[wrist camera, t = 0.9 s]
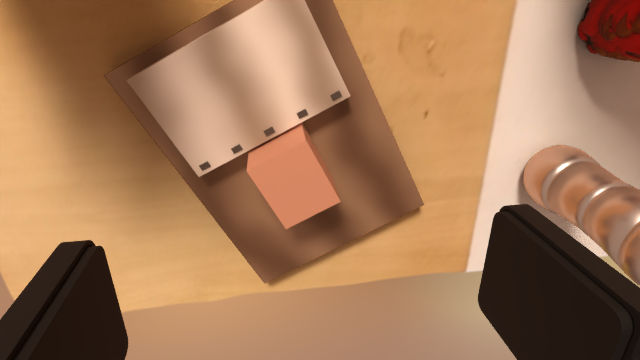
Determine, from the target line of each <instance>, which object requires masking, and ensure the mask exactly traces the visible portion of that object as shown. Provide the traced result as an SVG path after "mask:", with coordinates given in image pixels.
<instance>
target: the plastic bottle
mask: <svg viewBox="0 0 640 360" xmlns="http://www.w3.org/2000/svg"><path fill="white" fill-rule="evenodd" d="M523 182H524V187H525V189H526V191H527V193H528V194H529V195H530V196H531V198H532V199H533V200H534V202H536V203H537V204H538V205H540V206H542V207H543V208H545V209H547V210H549V211H551V212H553V213H555V214H558V215H559V216H561V217H562V218H564V219H566V220H567V221H569V222H570V223H572V224H573V225H575V226H576V227H578V228H580V229H581V230H582V231H583V232H584V233H585V234H587V235H588V236H589V237H590V238H591V239H592V240H593V241H594V242H596V243H597V244H598V245H599V246H600V247H601V248H602V249H603V250H604V251H605V252H606V253H607V254H608V255H609V256H610V257H611V259H613V261H614V262H615V263H616V264H617V265H618V266H619V267H620V268H621V269H622V270H623V271H624V273H625V274H627V275H628V276H629V277H630V278H631V279H632V280H633V281H634V282H635V283H637V284H638V285H640V190H639V189H637V188H635V187H633V186H631V185H629V184H627V183H625V182H623V181H622V180H620V179H619V178H617V177H616V176H615V175H613V174H612V173H610V172H609V171H607V170H606V169H604V168H603V167H602V166H601V165H600V164H599V163H597V162H596V161H595V160H594V159H593V158H592V157H591V156H589V155H588V154H587V153H585V152H584V151H582V150H580V149H577V148H573V147H570V146H566V145H556V146H551V147H548V148H545V149H543V150H541V151H539V152H538V153H536V154H535V155H534V156H533V157H532V158H531V159H530V160H529V162H528V163H527V165H526V167H525V170H524V178H523Z"/></svg>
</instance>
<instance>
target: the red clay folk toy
mask: <svg viewBox="0 0 640 360" xmlns="http://www.w3.org/2000/svg"><path fill="white" fill-rule="evenodd" d="M584 13H585V16H586V17H585V19H581V21H580V24H579V26H578V35H579V37H580V39H582V40H583V41H585V42H586V44H587V48H588V50H589V51H590V52H591V53H594V54H595V53H598V54H600V55H603V56H606V57H610V58H615V59H620V60H630V61H635V62H640V0H592V1H591V2H590V3H589V4H588V5H587V7H586V9H585V12H584Z"/></svg>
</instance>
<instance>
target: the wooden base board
mask: <svg viewBox="0 0 640 360" xmlns="http://www.w3.org/2000/svg"><path fill="white" fill-rule="evenodd" d="M104 77H105V78H106V79H107V81H108V82H109V83H110V84H111V86H112V87H113V88H114V90H115V91H116V92H117V94H118V95H119V96H120V97H121V99H122V100H123V101H124V103H125V104H126V105H127V106H128V108H129V109H130V110H131V112H132V113H133V114H134V116H135V117H136V118H137V119H138V121H139V122H140V123H141V125H142V126H143V127H144V128H145V130H146V131H147V132H148V134H149V135H150V136H151V137H152V139H153V140H154V141H155V143H156V144H157V145H158V147H159V148H160V149H161V150H162V152H163V153H164V154H165V156H166V157H167V158H168V159H169V161H170V162H171V163H172V165H173V166H174V167H175V169H176V170H177V171H178V172H179V174H180V175H181V176H182V178H183V179H184V180H185V181H186V183H187V184H188V185H189V187H190V188H191V189H192V190H193V192H194V193H195V194H196V196H197V197H198V198H199V200H200V201H201V202H202V203H203V205H204V206H205V207H206V209H207V210H208V211H209V212H210V214H211V215H212V216H213V218H214V219H215V220H216V222H217V223H218V224H219V225H220V227H221V228H222V229H223V231H224V232H225V233H226V234H227V236H228V237H229V238H230V240H231V241H232V242H233V243H234V245H235V246H236V247H237V249H238V250H239V251H240V253H241V254H242V255H243V256H244V258H245V259H246V260H247V262H248V263H249V264H250V265H251V267H252V268H253V269H254V271H255V272H256V273H257V274H258V276H259V277H260V278H261V280H262V281H263V282H264V284H265V283H267V282H269V281H271V280H273V279H275V278H277V277H279V276H281V275H283V274H285V273H287V272H289V271H291V270H293V269H295V268H297V267H299V266H301V265H303V264H305V263H307V262H309V261H311V260H313V259H315V258H318V257H320V256H322V255H324V254H326V253H328V252H330V251H332V250H334V249H336V248H338V247H340V246H342V245H344V244H346V243H348V242H350V241H352V240H354V239H356V238H358V237H360V236H362V235H364V234H366V233H368V232H370V231H372V230H374V229H376V228H378V227H380V226H383V225H385V224H387V223H389V222H391V221H393V220H395V219H397V218H399V217H401V216H403V215H405V214H407V213H409V212H411V211H413V210H415V209H417V208H419V207H421V206H423V205H424V203H423V201H422V199H421V197H420V194H419V192H418V190H417V188H416V185H415V183H414V181H413V179H412V177H411V174H410V172H409V170H408V168H407V165H406V163H405V161H404V159H403V156H402V154H401V152H400V150H399V147H398V145H397V143H396V141H395V139H394V136H393V134H392V132H391V130H390V127H389V125H388V123H387V121H386V118H385V116H384V114H383V112H382V109H381V107H380V105H379V103H378V101H377V98H376V96H375V94H374V92H373V89H372V87H371V85H370V83H369V80H368V78H367V76H366V74H365V71H364V69H363V67H362V65H361V63H360V60H359V58H358V56H357V54H356V51H355V49H354V47H353V45H352V42H351V40H350V38H349V36H348V33H347V31H346V29H345V27H344V25H343V22H342V20H341V18H340V16H339V13H338V11H337V9H336V7H335V4H334V2H333V0H233V1H231V2H230V3H228V4H226V5H224V6H223V7H221V8H219V9H218V10H216V11H214V12H212V13H211V14H209V15H207V16H206V17H204V18H202V19H200V20H199V21H197V22H195V23H193V24H192V25H190V26H188V27H187V28H185V29H183V30H181V31H180V32H178V33H176V34H174V35H173V36H171V37H169V38H168V39H166V40H164V41H162V42H161V43H159V44H157V45H155V46H154V47H152V48H150V49H149V50H147V51H145V52H143V53H142V54H140V55H138V56H136V57H135V58H133V59H131V60H130V61H128V62H126V63H124V64H123V65H121V66H119V67H118V68H116V69H114V70H112V71H111V72H109V73H107V74H106V75H104ZM301 122H302V123H303V125H304V127H305V128H306V130H307V132H308V134H309V136H310V137H311V139H312V141H313V143H314V144H315V146H316V148H317V150H318V152H319V153H320V155H321V157H322V159H323V161H324V162H325V164H326V166H327V168H328V169H329V171H330V173H331V175H332V178H333V181H334V183H335V186H336V189H337V192H338V195H339V198H340V201H341V202H339V203H337V204H335V205H333V206H331V207H329V208H327V209H325V210H323V211H321V212H319V213H317V214H315V215H313V216H312V217H310V218H308V219H306V220H304V221H302V222H300V223H298V224H296V225H294V226H292V227H290V228H288V229H285V227H284V226H283V224H282V223H281V221H280V220H279V218H278V217H277V215H276V214H275V212H274V211H273V210H272V208H271V207H270V205H269V204H268V202H267V201H266V199H265V198H264V196H263V195H262V193H261V192H260V190H259V189H258V187H257V186H256V184H255V183H254V181H253V180H252V178H251V177H250V176H249V174H248V173H247V163H248V151H249V150H251V149H253V148H254V147H256V146H258V145H260V144H262V143H264V142H266V141H268V140H269V139H271V138H273V137H275V136H277V135H279V134H281V133H283V132H284V131H286V130H288V129H290V128H292V127H294V126H296V125H298V124H299V123H301Z"/></svg>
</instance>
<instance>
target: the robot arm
mask: <svg viewBox="0 0 640 360" xmlns="http://www.w3.org/2000/svg"><path fill="white" fill-rule="evenodd" d="M478 303H479V306H480V309H481V311H482V312H483V313H484V315H485V316H486V318H487V319H488V320H489V322H490V323H491V324H492V326H493V327H494V329H495V330H496V331H497V333H498V334H499V335H500V337H501V338H502V339H503V341H504V342H505V344H506V345H507V346H508V348H509V349H510V350H511V352H512V353H513V354H514V356H515V357H516V358H517V360H640V288H639V287H638V286H636V285H635V284H633V283H632V282H631V281H630V280H629V279H627V278H626V277H624V276H623V275H622V274H621V273H619V272H618V271H616V270H615V269H614V268H612V267H611V266H610V265H609V264H607V263H606V262H604V261H603V260H602V259H601V258H599V257H598V256H597V255H595V254H594V253H593V252H591V251H590V250H589V249H587V248H586V247H585V246H583V245H582V244H581V243H579V242H578V241H577V240H575V239H574V238H573V237H571V236H570V235H569V234H567V233H566V232H565V231H563V230H562V229H561V228H559V227H558V226H557V225H555V224H554V223H553V222H551V221H550V220H549V219H547V218H546V217H545V216H543V215H542V214H541V213H539V212H538V211H537V210H535V209H534V208H533V207H531V206H530V205H528V204H522V205H509V206H504V207H502V208H501V209H500V211H499V212H497V213H496V214H495V215H494V218H493V223H492V228H491V233H490V238H489V243H488V248H487V254H486V259H485V264H484V269H483V274H482V279H481V284H480V289H479V294H478ZM127 349H128V337H127V333H126V329H125V325H124V322H123V318H122V314H121V310H120V307H119V303H118V299H117V296H116V292H115V288H114V284H113V281H112V277H111V273H110V270H109V266H108V262H107V259H106V255H105V252H104V249H103V247H102V246H95V244H94V243H93V241H91V240H86V241H74V242H63V243H60V244H59V245H58V246H57V248H56V249H55V250H54V252H53V253H52V254H51V255H50V257H49V258H48V259H47V261H46V262H45V263H44V264H43V266H42V267H41V268H40V270H39V271H38V272H37V273H36V275H35V276H34V277H33V279H32V280H31V281H30V282H29V284H28V285H27V286H26V287H25V289H24V290H23V291H22V293H21V294H20V295H19V296H18V298H17V299H16V300H15V302H14V303H13V304H12V305H11V307H10V308H9V309H8V311H7V312H6V313H5V314H4V316H3V317H2V318H1V320H0V360H124V359H125V356H126V353H127Z"/></svg>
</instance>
